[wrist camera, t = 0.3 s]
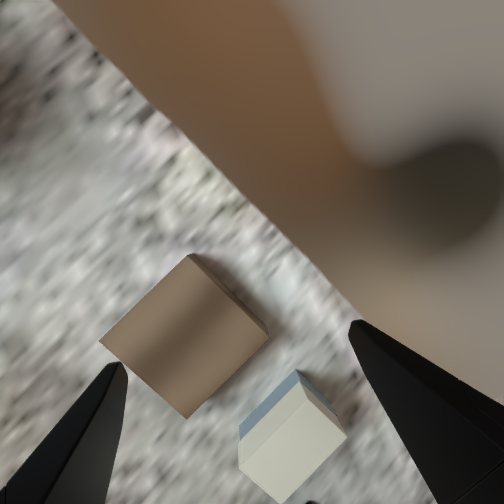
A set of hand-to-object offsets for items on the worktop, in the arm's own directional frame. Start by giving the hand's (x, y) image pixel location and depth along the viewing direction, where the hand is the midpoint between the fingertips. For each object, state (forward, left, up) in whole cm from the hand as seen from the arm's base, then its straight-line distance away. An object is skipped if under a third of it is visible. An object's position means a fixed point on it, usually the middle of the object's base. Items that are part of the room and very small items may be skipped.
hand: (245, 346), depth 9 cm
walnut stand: (0, +6, -14) cm, 15 cm away
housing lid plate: (-13, +6, -12) cm, 19 cm away
